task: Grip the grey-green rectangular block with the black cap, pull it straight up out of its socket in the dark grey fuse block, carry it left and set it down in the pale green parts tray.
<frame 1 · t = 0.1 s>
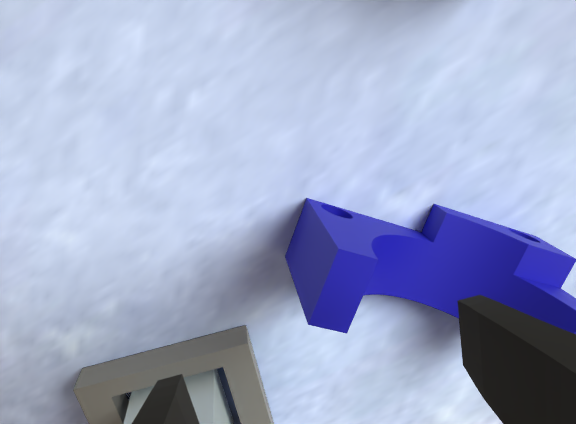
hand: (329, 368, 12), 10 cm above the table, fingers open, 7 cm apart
cable clip: (411, 243, 23), on the table
grey-green rectangular block: (185, 401, 23), resting in fuse block
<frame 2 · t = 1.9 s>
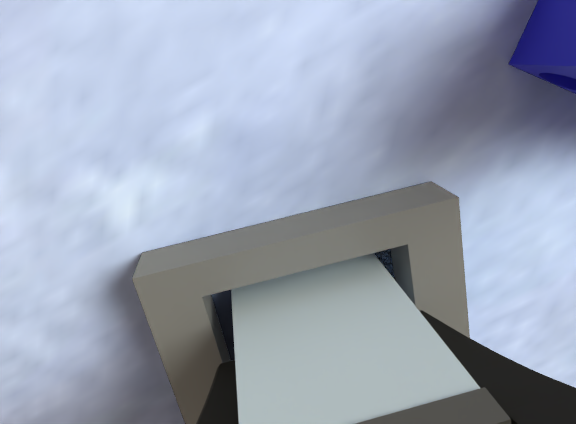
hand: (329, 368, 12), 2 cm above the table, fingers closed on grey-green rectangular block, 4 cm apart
fuse block: (328, 391, 14), on the table
grey-green rectangular block: (313, 324, 13), resting in fuse block, touching gripper
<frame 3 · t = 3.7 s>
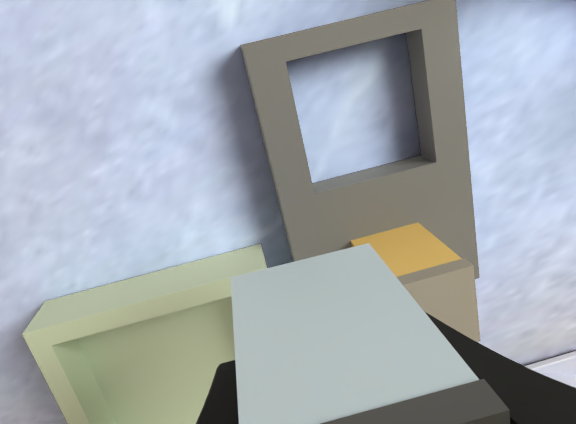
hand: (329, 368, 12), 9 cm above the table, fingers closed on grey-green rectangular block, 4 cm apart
parts tray: (193, 376, 22), on the table
fuse block: (364, 167, 20), on the table
grey-green rectangular block: (313, 319, 14), point 7 cm above the table, touching gripper
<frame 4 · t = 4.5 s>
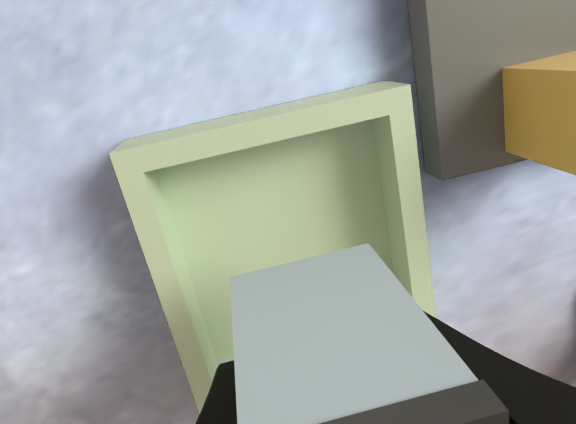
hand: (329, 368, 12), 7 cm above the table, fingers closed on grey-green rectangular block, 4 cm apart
parts tray: (288, 252, 19), on the table
grey-green rectangular block: (312, 319, 13), point 5 cm above the table, touching gripper
when the fingers open (4 cm above the table, at t = 5.3 s): grey-green rectangular block drops 2 cm, resting on parts tray.
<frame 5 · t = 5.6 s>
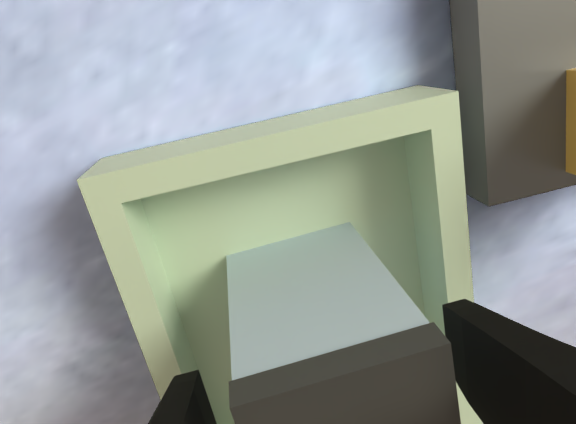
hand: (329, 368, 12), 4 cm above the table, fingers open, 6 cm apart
parts tray: (301, 289, 16), on the table
grey-green rectangular block: (302, 293, 15), resting on parts tray
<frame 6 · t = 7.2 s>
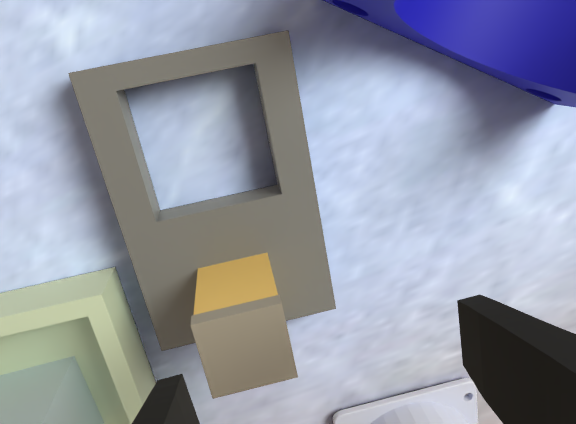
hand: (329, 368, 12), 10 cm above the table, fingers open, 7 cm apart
cable clip: (463, 1, 19), on the table
parts tray: (52, 396, 22), on the table
fuse block: (218, 195, 20), on the table
grey-green rectangular block: (47, 401, 21), resting on parts tray
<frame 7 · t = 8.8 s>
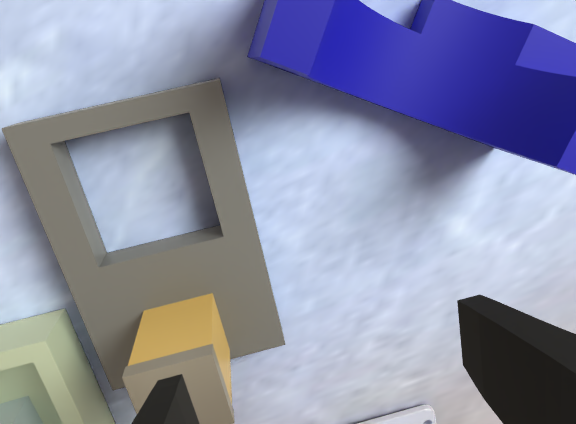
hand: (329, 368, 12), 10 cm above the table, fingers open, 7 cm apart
cable clip: (397, 53, 20), on the table
fuse block: (165, 236, 20), on the table
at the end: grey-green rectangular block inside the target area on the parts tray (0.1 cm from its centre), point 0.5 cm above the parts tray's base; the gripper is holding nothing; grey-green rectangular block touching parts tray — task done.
